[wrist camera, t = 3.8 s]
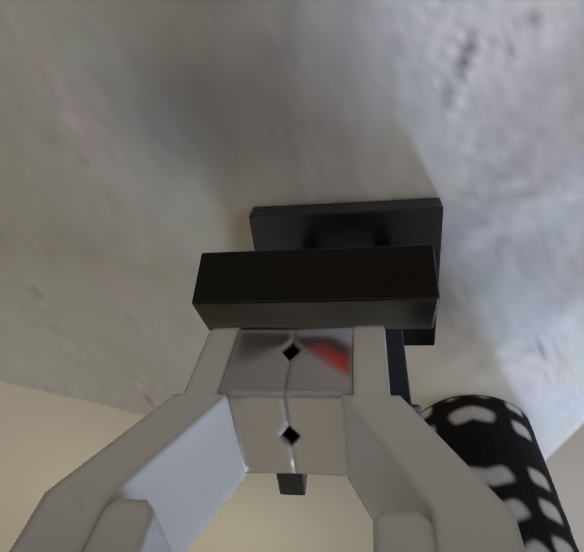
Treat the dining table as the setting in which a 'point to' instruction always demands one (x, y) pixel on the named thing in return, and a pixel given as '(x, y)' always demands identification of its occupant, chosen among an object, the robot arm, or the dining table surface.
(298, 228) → the lever bracket
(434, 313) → the toast lever
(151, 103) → the dining table surface
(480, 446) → the spotted tube
